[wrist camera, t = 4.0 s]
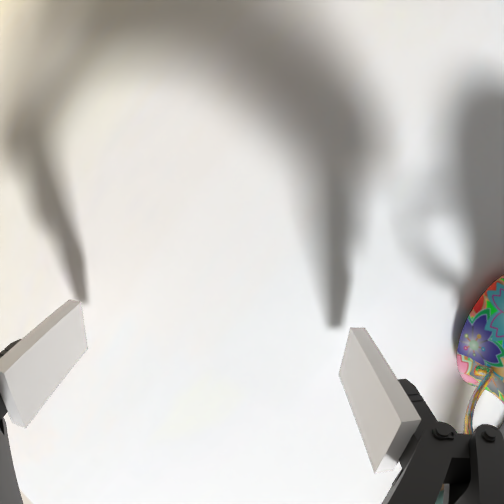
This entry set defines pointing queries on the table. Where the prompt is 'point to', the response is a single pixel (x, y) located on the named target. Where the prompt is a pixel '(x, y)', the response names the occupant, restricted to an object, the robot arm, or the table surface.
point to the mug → (483, 348)
